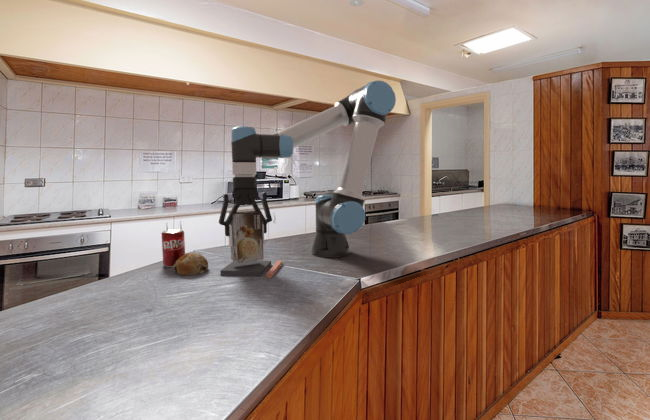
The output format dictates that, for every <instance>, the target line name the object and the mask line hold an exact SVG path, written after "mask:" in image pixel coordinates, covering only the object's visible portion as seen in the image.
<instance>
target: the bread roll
mask: <svg viewBox="0 0 650 420" xmlns="http://www.w3.org/2000/svg"><path fill="white" fill-rule="evenodd" d="M175 262H176V263H175V264H174V265H173V267H172V268H173V269H174V271H175V273H176V274H178V275H180V276H195V275H201V274H204V273H205V272H206V271H208V269H209V262H208V260H207V258H206V257H205V256H204V255H203V254H201V253H199V252H197V253H196V252H188V253H185V255H183V256H181V257H180V258H179V259H178V260H177V261H175Z"/></svg>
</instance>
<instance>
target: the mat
mask: <svg viewBox="0 0 650 420" xmlns="http://www.w3.org/2000/svg"><path fill="white" fill-rule="evenodd" d="M271 266H272V261H271V260H257V261H250V262H244V263H236V262H234V261H233V260H232V261H231V262H230V263H229V264H227V265H226V266H225V267H223V268H222V269H221V270H220V276H238V277H239V276H243V277H262V276H263V275H264V274H265V273H266V272H267V271H268V269H270V268H271Z"/></svg>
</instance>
